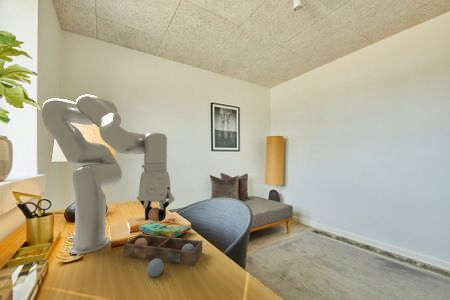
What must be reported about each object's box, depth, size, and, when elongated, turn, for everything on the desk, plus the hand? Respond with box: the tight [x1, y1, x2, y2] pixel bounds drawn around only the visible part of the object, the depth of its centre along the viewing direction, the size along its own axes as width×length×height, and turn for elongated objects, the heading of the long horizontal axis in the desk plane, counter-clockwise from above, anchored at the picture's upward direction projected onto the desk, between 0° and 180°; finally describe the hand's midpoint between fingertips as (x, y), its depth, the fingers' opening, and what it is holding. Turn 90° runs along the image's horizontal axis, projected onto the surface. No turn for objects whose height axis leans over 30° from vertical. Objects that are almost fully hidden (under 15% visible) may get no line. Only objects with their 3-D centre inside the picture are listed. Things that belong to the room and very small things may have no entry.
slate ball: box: [146, 259, 165, 278], centre depth 53 cm, size 5×5×5 cm
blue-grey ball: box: [182, 243, 195, 251], centre depth 61 cm, size 5×5×5 cm
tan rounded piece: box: [134, 238, 148, 246], centre depth 65 cm, size 5×5×5 cm
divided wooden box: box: [123, 233, 203, 268], centre depth 63 cm, size 25×8×5 cm, turn 78°
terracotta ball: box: [148, 206, 160, 222], centre depth 64 cm, size 5×5×5 cm
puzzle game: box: [138, 218, 192, 238], centre depth 80 cm, size 12×5×20 cm
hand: (155, 219), depth 64 cm, fingers closed on terracotta ball, 4 cm apart
